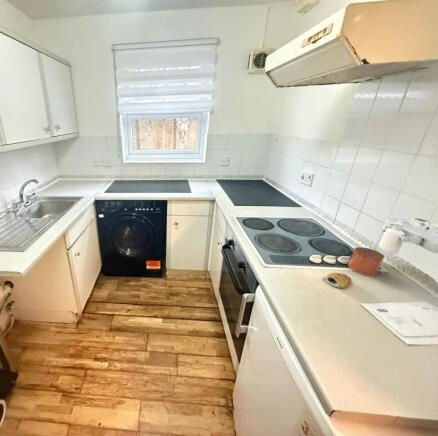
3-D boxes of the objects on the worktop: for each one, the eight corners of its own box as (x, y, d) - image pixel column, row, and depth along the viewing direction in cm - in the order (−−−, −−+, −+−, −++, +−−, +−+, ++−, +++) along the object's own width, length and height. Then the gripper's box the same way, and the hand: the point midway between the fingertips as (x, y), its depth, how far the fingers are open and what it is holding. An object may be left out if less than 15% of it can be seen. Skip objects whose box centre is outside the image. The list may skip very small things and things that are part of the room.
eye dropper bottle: (393, 248, 88) (406, 218, 83) (398, 255, 83) (412, 224, 79) (377, 245, 90) (390, 216, 85) (381, 251, 85) (394, 221, 81)
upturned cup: (372, 265, 104) (379, 250, 101) (381, 278, 96) (389, 261, 93) (345, 260, 108) (351, 245, 105) (351, 272, 100) (357, 255, 97)
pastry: (338, 275, 98) (341, 267, 96) (355, 285, 92) (359, 277, 90) (321, 279, 95) (324, 272, 93) (339, 290, 89) (342, 282, 88)
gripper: (463, 258, 75) (416, 257, 76) (404, 230, 93) (367, 229, 95) (474, 241, 72) (424, 239, 73) (411, 216, 91) (373, 215, 92)
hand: (392, 233), depth 84 cm, fingers closed on eye dropper bottle, 5 cm apart
